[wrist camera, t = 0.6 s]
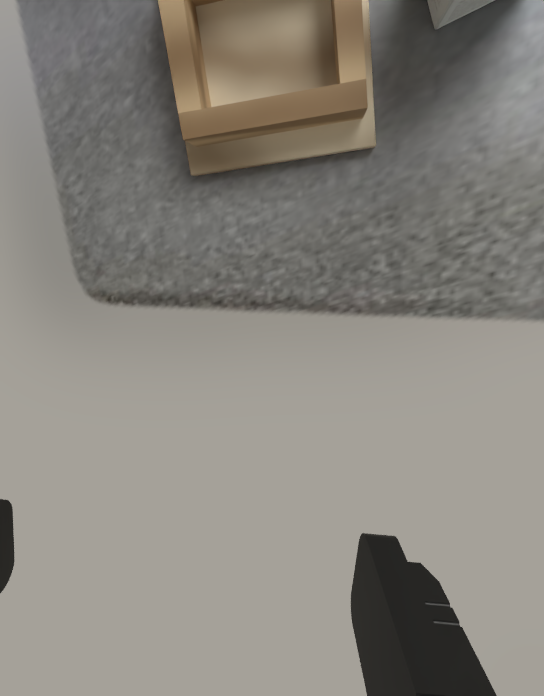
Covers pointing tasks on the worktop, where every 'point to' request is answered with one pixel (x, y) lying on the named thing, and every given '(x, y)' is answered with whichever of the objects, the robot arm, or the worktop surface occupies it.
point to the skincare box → (452, 10)
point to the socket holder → (269, 79)
